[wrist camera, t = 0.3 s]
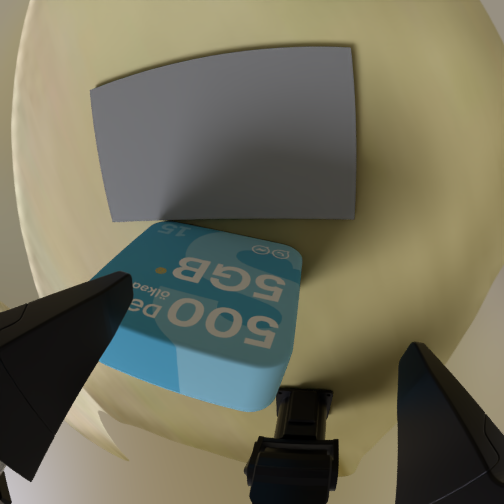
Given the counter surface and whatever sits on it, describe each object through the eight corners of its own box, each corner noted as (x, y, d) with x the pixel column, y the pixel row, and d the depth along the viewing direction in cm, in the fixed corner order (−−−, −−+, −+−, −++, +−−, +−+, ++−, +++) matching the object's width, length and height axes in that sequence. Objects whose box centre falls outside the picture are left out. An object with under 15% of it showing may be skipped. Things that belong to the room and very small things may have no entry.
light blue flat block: (303, 247, 22) (290, 372, 12) (291, 294, 24) (271, 419, 14) (159, 217, 23) (64, 302, 13) (159, 263, 26) (83, 356, 15)
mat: (353, 216, 20) (354, 219, 20) (116, 219, 24) (112, 222, 24) (349, 49, 15) (350, 47, 14) (94, 90, 19) (89, 90, 18)
